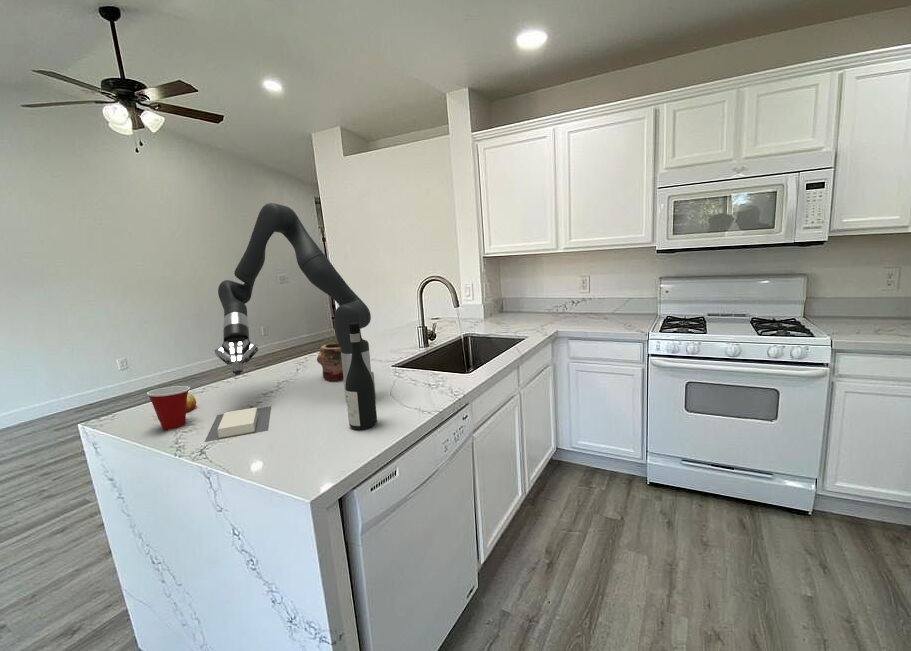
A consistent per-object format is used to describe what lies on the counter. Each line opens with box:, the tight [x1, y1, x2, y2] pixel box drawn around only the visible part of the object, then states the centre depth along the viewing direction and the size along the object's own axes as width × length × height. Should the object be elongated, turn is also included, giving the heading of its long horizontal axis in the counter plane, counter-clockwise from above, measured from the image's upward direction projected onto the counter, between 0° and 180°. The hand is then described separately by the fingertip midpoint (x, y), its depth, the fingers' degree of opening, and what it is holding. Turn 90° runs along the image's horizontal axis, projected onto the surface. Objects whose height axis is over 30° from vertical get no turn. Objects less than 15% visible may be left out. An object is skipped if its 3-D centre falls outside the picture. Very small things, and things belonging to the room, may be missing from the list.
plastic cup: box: [146, 385, 191, 432], centre depth 128 cm, size 11×11×12 cm
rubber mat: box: [204, 405, 272, 443], centre depth 128 cm, size 22×16×1 cm
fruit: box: [186, 392, 197, 414], centre depth 141 cm, size 11×10×8 cm
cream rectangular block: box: [218, 407, 258, 439], centre depth 125 cm, size 3×9×14 cm
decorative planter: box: [316, 342, 344, 383], centre depth 170 cm, size 20×12×14 cm, turn 71°
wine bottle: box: [344, 322, 378, 431], centre depth 120 cm, size 8×8×30 cm
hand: (237, 373), depth 132 cm, fingers closed
